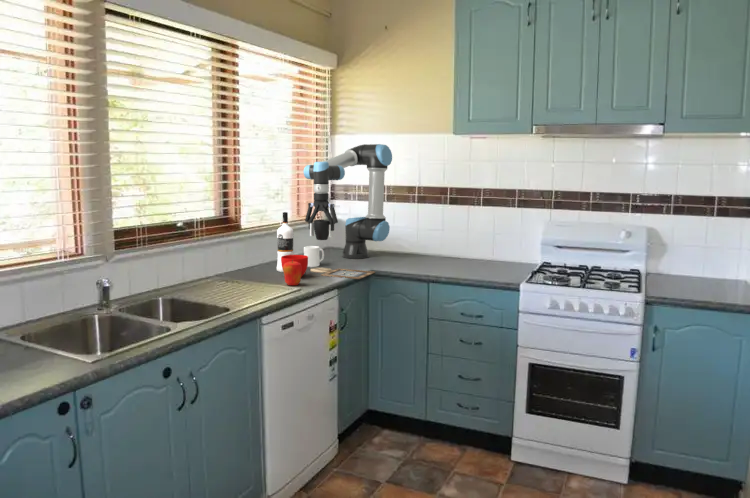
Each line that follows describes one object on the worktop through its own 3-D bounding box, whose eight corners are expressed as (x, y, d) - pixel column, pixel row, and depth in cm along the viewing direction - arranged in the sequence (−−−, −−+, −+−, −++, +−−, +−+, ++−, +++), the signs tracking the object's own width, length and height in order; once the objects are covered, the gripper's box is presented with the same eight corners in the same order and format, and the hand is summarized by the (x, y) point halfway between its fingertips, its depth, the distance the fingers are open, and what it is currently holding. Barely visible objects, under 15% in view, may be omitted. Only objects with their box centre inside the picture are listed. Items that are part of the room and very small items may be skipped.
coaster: (317, 268, 327) (316, 266, 327) (335, 269, 322) (335, 268, 322) (306, 271, 317) (306, 270, 317) (325, 273, 312) (325, 272, 312)
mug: (322, 237, 325) (322, 218, 323) (332, 239, 314) (333, 221, 313) (308, 238, 321) (308, 219, 319) (318, 240, 310) (318, 221, 309)
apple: (280, 284, 285) (279, 258, 283) (296, 282, 290) (296, 257, 288) (288, 287, 278) (288, 261, 276) (305, 285, 283) (305, 259, 281)
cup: (301, 265, 334) (300, 246, 333) (319, 263, 342) (319, 244, 340) (309, 267, 328) (309, 248, 326) (328, 265, 335) (328, 246, 334)
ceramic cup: (313, 273, 311) (313, 254, 310) (304, 280, 294) (303, 259, 293) (288, 272, 313) (288, 253, 312) (277, 279, 297) (277, 258, 295)
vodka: (298, 271, 318) (298, 212, 314) (284, 273, 311) (284, 213, 307) (286, 268, 324) (286, 211, 320) (272, 271, 317) (271, 212, 313)
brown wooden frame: (338, 269, 324) (338, 268, 324) (375, 272, 316) (375, 271, 316) (320, 275, 307) (320, 274, 307) (359, 279, 299) (359, 278, 298)
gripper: (297, 192, 315) (298, 236, 318) (338, 193, 306) (338, 238, 309) (305, 191, 322) (305, 234, 325) (344, 193, 313) (344, 237, 316)
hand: (321, 236), depth 317 cm, fingers closed on mug, 10 cm apart
